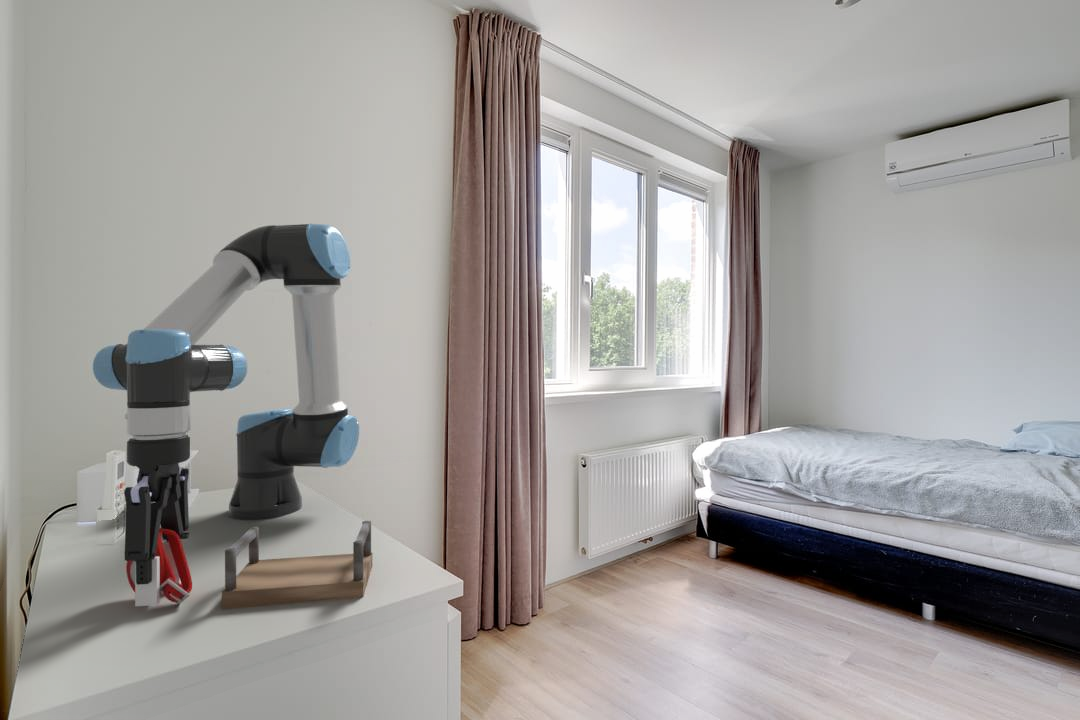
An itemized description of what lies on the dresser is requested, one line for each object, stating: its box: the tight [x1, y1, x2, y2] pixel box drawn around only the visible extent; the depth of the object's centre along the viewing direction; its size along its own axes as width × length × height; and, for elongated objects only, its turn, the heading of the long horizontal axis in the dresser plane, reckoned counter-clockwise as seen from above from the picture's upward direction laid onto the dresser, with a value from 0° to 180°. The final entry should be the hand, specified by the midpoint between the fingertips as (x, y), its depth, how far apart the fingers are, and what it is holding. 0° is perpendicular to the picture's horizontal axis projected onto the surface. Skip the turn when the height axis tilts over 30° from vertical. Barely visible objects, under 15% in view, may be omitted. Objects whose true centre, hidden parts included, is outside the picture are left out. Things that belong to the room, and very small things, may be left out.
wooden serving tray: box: [221, 520, 373, 610], centre depth 84 cm, size 12×19×8 cm, turn 101°
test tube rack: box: [178, 444, 200, 510], centre depth 131 cm, size 25×4×13 cm, turn 26°
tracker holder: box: [125, 527, 193, 605], centre depth 79 cm, size 12×4×10 cm, turn 69°
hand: (159, 593), depth 79 cm, fingers closed on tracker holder, 6 cm apart
